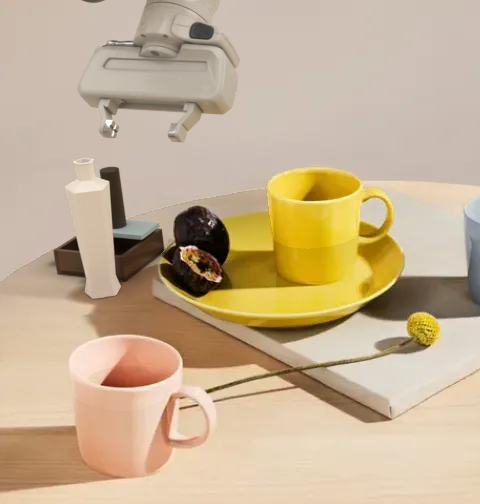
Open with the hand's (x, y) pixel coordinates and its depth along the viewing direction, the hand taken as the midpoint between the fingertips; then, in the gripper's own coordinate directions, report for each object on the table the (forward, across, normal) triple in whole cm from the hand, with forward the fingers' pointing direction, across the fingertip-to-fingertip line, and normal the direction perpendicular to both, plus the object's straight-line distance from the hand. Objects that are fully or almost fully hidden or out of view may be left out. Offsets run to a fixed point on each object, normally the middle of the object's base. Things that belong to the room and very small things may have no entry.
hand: (140, 137), depth 115 cm
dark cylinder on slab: (+12, 0, +1) cm, 12 cm away
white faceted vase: (+21, +3, -3) cm, 22 cm away
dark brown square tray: (+16, 0, +2) cm, 16 cm away
